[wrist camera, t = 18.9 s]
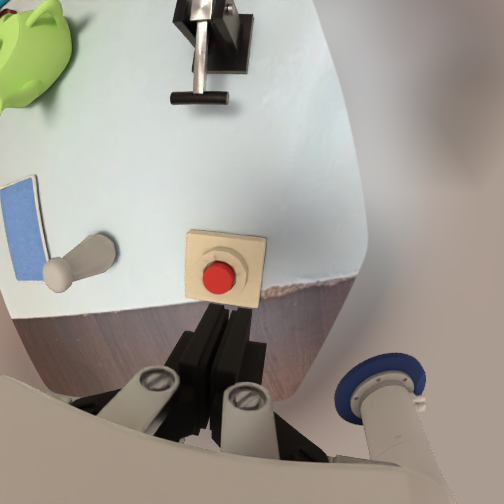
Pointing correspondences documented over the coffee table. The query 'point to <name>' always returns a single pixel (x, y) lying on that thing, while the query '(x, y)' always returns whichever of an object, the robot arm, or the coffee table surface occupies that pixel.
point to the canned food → (6, 12)
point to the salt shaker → (79, 263)
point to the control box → (231, 253)
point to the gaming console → (3, 2)
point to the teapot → (32, 53)
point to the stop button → (218, 278)
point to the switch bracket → (220, 36)
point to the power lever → (201, 60)
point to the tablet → (24, 229)
